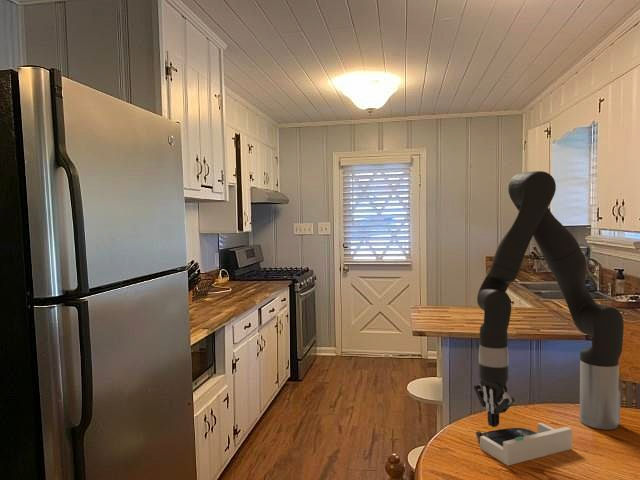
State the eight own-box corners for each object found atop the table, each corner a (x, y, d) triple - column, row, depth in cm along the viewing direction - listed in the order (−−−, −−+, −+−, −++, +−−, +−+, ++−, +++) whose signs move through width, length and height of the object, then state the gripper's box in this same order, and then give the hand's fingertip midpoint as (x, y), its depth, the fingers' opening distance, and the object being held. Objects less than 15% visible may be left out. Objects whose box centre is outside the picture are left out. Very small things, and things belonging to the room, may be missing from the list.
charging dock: (541, 433, 126) (541, 413, 126) (571, 448, 118) (571, 427, 117) (479, 448, 118) (479, 426, 118) (507, 465, 110) (507, 442, 110)
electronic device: (500, 464, 114) (551, 447, 118) (495, 440, 114) (547, 424, 118) (478, 451, 123) (526, 436, 127) (473, 430, 123) (522, 415, 127)
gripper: (523, 366, 123) (523, 432, 123) (486, 354, 135) (486, 414, 135) (501, 370, 120) (501, 438, 120) (465, 357, 132) (465, 418, 132)
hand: (493, 425), depth 128 cm, fingers closed
